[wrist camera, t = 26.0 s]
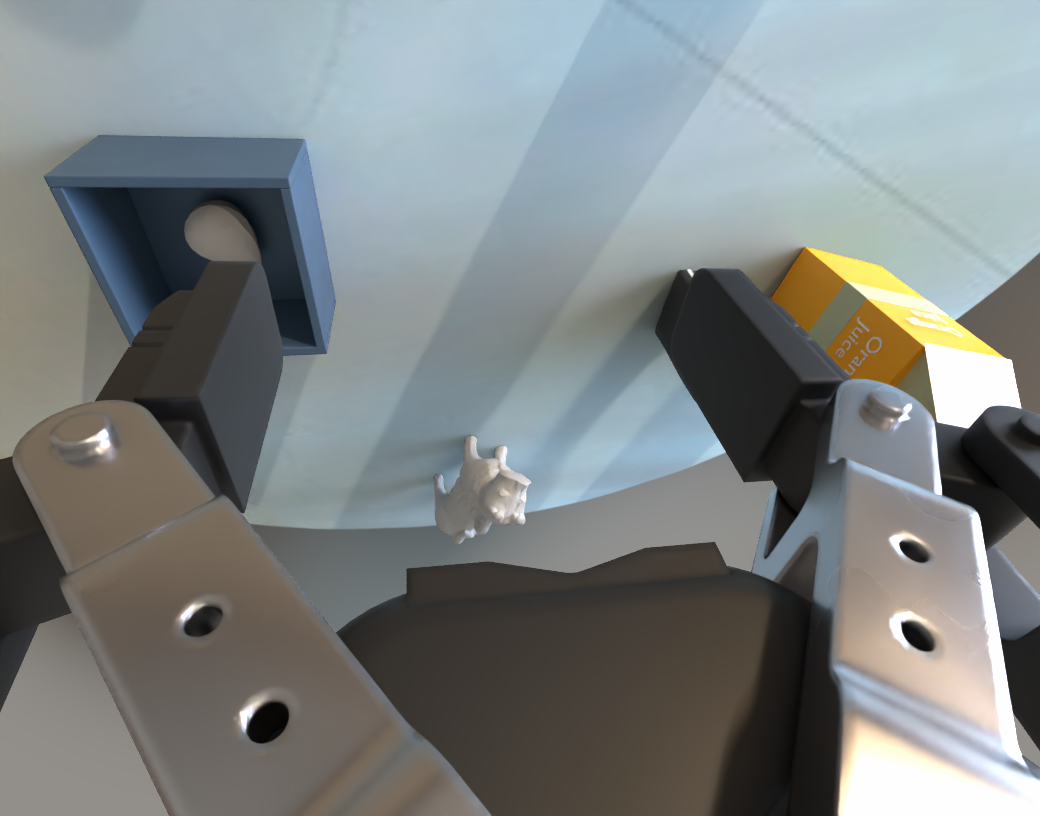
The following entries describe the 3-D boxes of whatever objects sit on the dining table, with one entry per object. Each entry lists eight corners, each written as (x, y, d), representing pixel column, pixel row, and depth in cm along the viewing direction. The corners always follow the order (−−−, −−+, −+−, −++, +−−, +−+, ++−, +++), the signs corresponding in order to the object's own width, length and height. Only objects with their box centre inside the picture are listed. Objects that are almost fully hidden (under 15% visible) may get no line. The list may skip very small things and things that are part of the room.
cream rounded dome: (217, 182, 35) (207, 197, 33) (283, 237, 38) (277, 253, 36) (178, 224, 36) (166, 240, 35) (245, 274, 39) (237, 291, 38)
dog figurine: (530, 424, 56) (551, 507, 48) (468, 498, 62) (477, 581, 54) (486, 408, 53) (501, 492, 45) (426, 486, 59) (430, 572, 52)
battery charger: (688, 335, 51) (744, 418, 43) (651, 333, 50) (701, 418, 42) (718, 268, 46) (787, 345, 38) (677, 264, 45) (739, 343, 37)
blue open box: (42, 175, 28) (138, 362, 36) (288, 177, 30) (326, 354, 38) (98, 134, 33) (171, 305, 41) (305, 138, 35) (336, 301, 43)
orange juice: (827, 334, 54) (985, 492, 39) (755, 320, 51) (895, 484, 36) (882, 263, 49) (1086, 413, 34) (805, 244, 46) (990, 397, 32)
